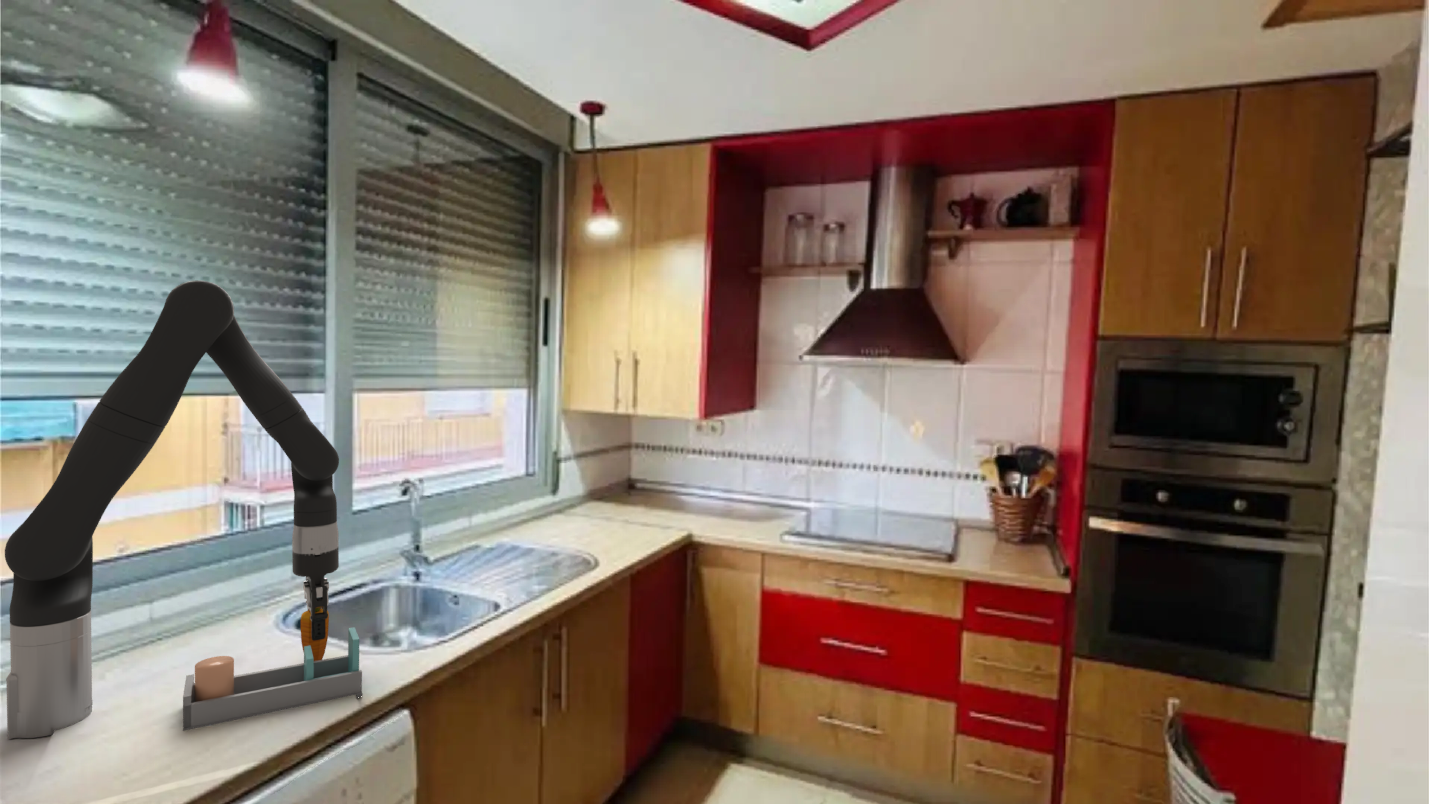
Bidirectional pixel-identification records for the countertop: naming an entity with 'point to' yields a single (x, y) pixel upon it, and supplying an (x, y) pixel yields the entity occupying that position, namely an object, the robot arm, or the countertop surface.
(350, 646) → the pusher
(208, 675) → the pink cylinder
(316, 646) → the carrot
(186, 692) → the tray
